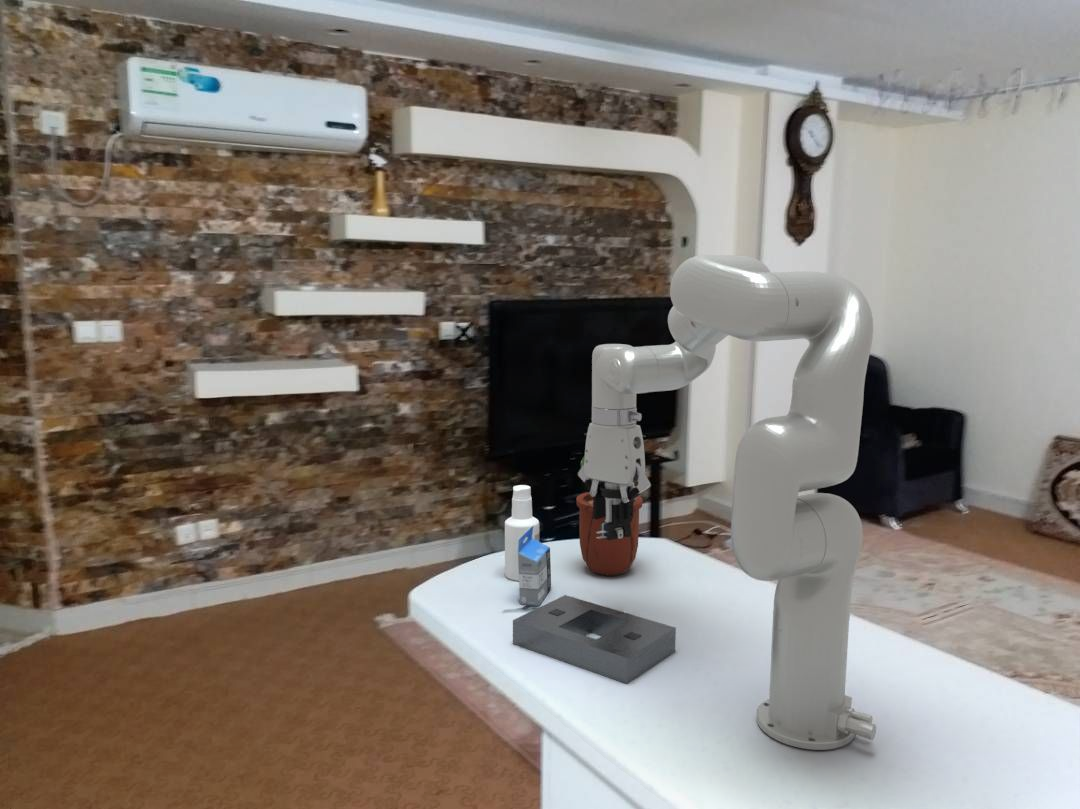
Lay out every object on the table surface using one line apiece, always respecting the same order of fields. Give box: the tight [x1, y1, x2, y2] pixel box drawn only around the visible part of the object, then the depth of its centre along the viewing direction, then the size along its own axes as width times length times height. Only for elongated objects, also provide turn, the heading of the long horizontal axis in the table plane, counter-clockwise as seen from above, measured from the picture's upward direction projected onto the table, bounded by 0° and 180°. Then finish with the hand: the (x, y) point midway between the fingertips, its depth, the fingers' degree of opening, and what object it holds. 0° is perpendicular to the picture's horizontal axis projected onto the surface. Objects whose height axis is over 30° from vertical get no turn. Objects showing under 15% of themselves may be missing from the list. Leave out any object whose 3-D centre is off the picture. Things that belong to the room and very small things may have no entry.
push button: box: [596, 482, 631, 540], centre depth 151 cm, size 7×5×10 cm
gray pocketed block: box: [512, 594, 677, 685], centre depth 140 cm, size 22×14×4 cm, turn 51°
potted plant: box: [575, 417, 645, 577], centre depth 172 cm, size 17×16×35 cm
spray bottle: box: [504, 484, 540, 582], centre depth 171 cm, size 7×7×18 cm
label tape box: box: [518, 526, 552, 607], centre depth 161 cm, size 9×4×12 cm, turn 164°
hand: (612, 519), depth 151 cm, fingers closed on push button, 4 cm apart
